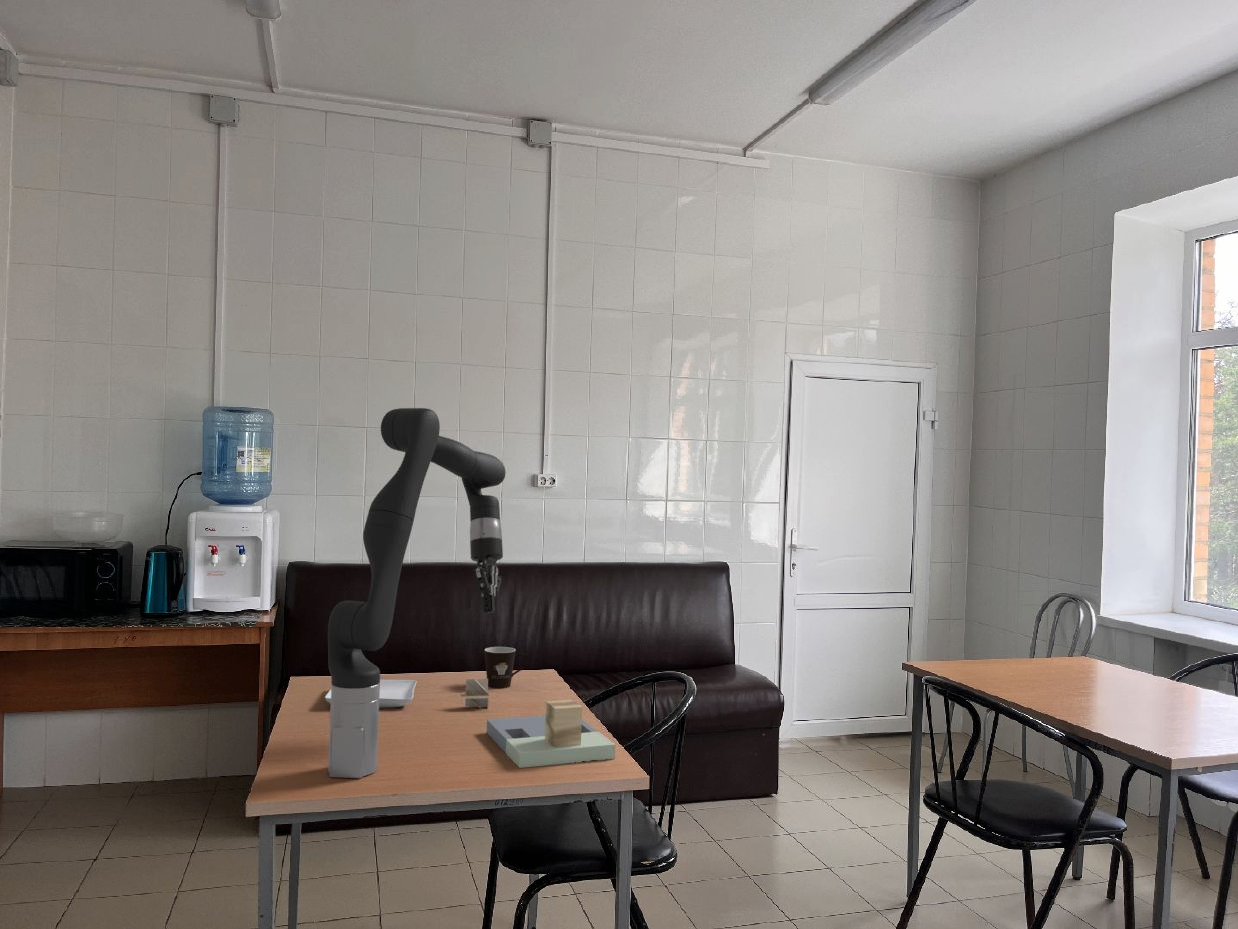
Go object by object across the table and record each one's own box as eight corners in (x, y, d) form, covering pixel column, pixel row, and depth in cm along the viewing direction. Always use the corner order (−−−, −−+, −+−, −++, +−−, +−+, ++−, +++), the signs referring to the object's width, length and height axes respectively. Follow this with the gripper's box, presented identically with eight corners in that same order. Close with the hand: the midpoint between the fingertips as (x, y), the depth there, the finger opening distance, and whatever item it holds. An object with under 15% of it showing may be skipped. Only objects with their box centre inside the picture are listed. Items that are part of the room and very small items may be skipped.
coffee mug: (479, 688, 253) (480, 651, 253) (488, 681, 261) (489, 646, 261) (520, 691, 251) (521, 654, 251) (528, 684, 259) (529, 648, 259)
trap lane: (615, 758, 195) (615, 744, 195) (519, 768, 186) (519, 753, 186) (573, 725, 219) (573, 713, 219) (486, 732, 210) (487, 719, 210)
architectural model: (488, 711, 230) (489, 681, 230) (460, 712, 229) (461, 682, 229) (487, 708, 233) (488, 678, 234) (460, 708, 232) (461, 679, 232)
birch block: (580, 744, 194) (582, 706, 194) (554, 747, 191) (555, 708, 191) (571, 736, 199) (572, 699, 199) (544, 739, 197) (546, 701, 197)
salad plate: (416, 691, 249) (417, 678, 249) (412, 711, 228) (412, 697, 228) (335, 691, 245) (336, 678, 245) (323, 712, 224) (323, 698, 224)
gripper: (490, 532, 211) (494, 607, 206) (510, 543, 224) (514, 614, 219) (460, 536, 213) (463, 611, 208) (481, 547, 225) (484, 618, 220)
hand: (489, 612), depth 213 cm, fingers closed
